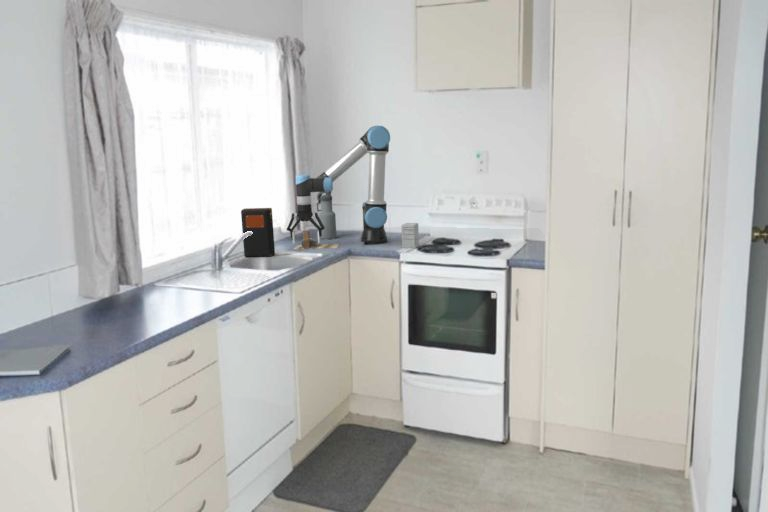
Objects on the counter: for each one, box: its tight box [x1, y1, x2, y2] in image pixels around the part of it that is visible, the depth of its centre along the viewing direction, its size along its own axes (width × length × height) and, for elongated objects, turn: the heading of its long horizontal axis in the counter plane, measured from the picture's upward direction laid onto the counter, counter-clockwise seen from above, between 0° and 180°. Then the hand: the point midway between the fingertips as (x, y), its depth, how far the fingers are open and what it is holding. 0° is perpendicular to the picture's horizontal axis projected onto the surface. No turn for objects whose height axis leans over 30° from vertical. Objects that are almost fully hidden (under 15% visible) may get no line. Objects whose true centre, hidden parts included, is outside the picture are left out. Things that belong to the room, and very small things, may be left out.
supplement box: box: [401, 222, 420, 249], centre depth 369 cm, size 7×7×13 cm
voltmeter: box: [240, 207, 276, 258], centre depth 359 cm, size 16×9×25 cm, turn 84°
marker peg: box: [302, 230, 311, 250], centre depth 371 cm, size 3×3×9 cm
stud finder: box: [301, 237, 319, 247], centre depth 378 cm, size 8×4×4 cm, turn 86°
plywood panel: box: [293, 243, 341, 250], centre depth 375 cm, size 24×12×1 cm, turn 86°
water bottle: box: [316, 191, 337, 240], centre depth 406 cm, size 10×10×28 cm
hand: (306, 243), depth 372 cm, fingers open, 13 cm apart
